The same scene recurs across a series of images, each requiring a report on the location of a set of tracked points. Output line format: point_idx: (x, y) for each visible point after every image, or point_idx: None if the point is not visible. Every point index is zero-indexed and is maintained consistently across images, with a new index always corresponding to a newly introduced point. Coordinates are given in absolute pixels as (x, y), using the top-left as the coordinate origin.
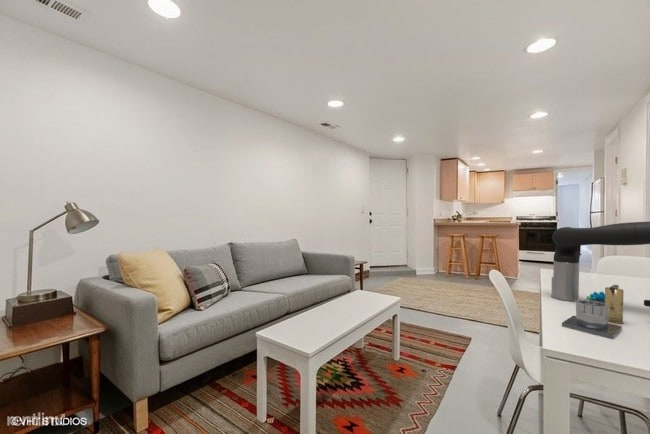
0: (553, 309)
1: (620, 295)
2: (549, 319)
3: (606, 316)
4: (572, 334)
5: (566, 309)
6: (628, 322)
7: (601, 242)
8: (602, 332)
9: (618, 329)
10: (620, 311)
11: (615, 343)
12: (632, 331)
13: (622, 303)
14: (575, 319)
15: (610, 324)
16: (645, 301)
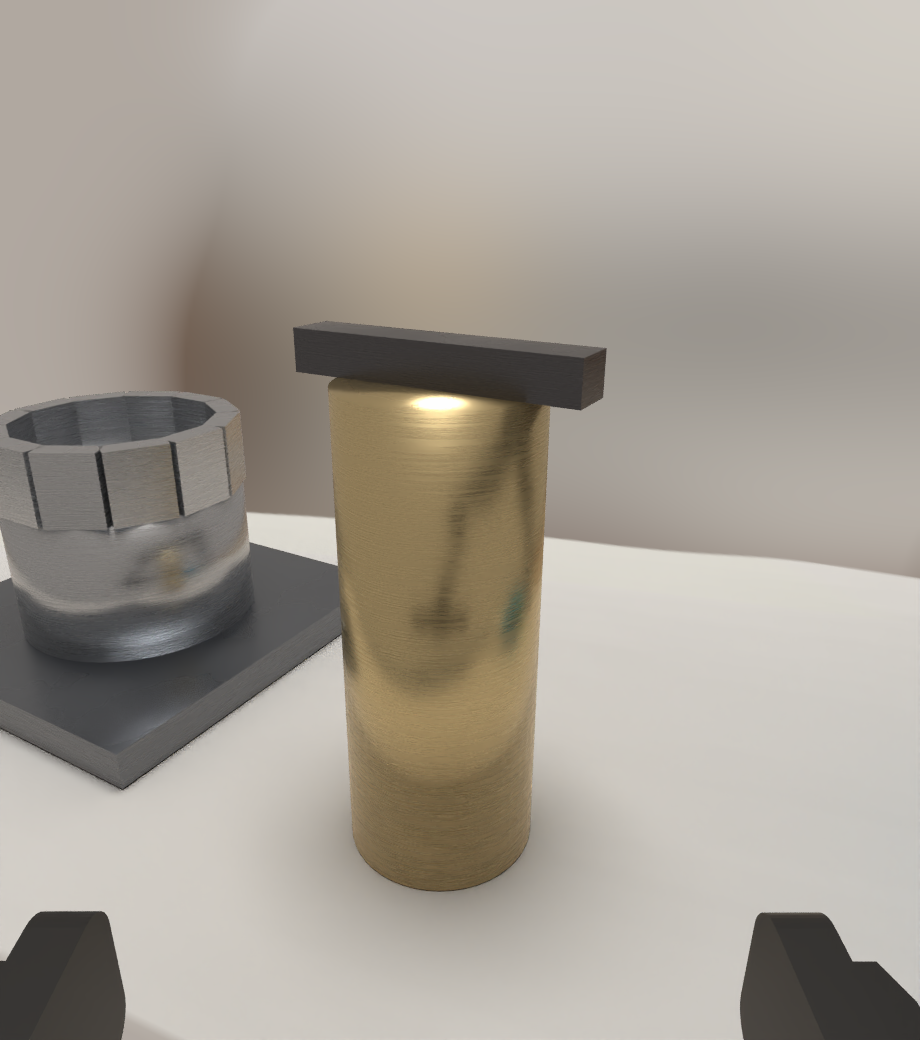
0: (608, 568)
1: (338, 473)
2: (300, 526)
3: (5, 534)
4: (3, 548)
5: (688, 620)
6: (491, 970)
7: None
8: None
9: (9, 701)
10: (347, 701)
11: None
12: (74, 859)
13: (364, 612)
14: (262, 568)
15: (165, 695)
16: (761, 933)
